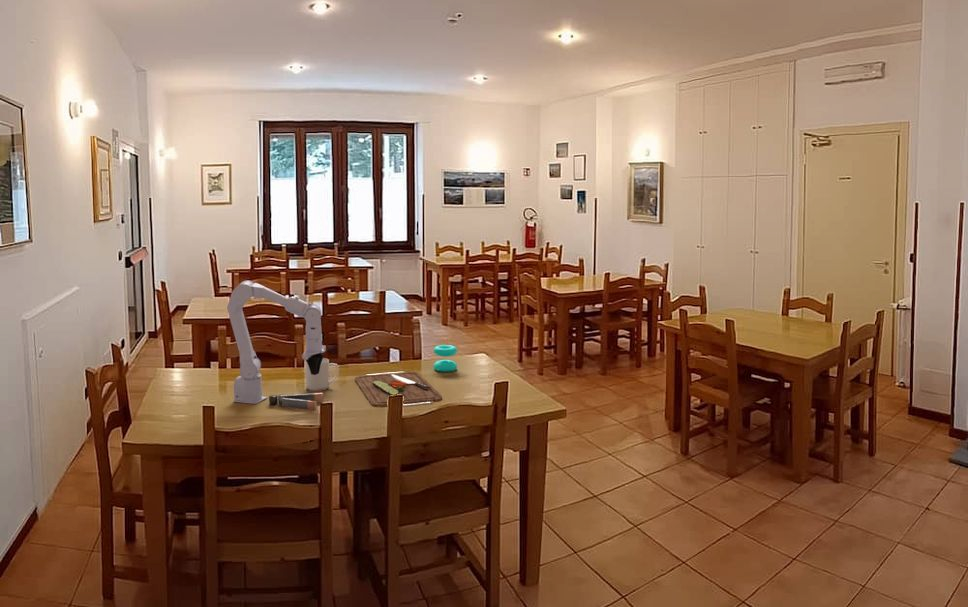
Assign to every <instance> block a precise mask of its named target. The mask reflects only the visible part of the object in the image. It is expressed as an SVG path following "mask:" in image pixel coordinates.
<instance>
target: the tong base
mask: <svg viewBox="0 0 968 607" xmlns="http://www.w3.org/2000/svg"><path fill="white" fill-rule="evenodd" d="M268 404H269V406H271V407H272V406H277V405H279V404H278V395H277V394H276V395H275V394H273V395H272V394H271V395H268ZM281 406H282V407H283V408H291V409H299V410H300V409H301V410H310V411H316V410H317V402H316V401H310V400H300V399H290V398H283V399H282V405H281Z"/></svg>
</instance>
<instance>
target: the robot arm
mask: <svg viewBox="0 0 968 607" xmlns="http://www.w3.org/2000/svg"><path fill="white" fill-rule="evenodd" d="M252 297H253V300H257V299H265V300H268V301H269V302H273V303H275V304H277V305H281V306H283V307H284V309H285V311H286V312H288V313H291V314H293V315H295V316H297V317H299V318H304V320H305V346H306V348H305V350H304V352H303V353H302V354H301V359H302V360H304V361H306V362H307V363H308V366H309V369H310V372H311V375H317V374H319V370H320V366H321V362H322V360H323V358H325V352H326V351H327V346H326V345H323V337H322V336H323V335H322V328H323V327H322V310H321V308H320V307H319V306H318V305H317V304H315V303H313V304H312V303H311V302H309V301H308V302H307V301H304V300H302V299H300V297H299V296H297V295H295V296H290V297H287V296H284V295H282V294H280V293H278V292H276V291H275V290H273V289H271V288H268V287H266V286H264V285H262V284H260V283H257V282H253V281H252V280H243V281H241V282H240V283H239V284H237V285H236V287H235V288H234V289H233V290H232V291H231V294H230V298H229V300H228V303H227V306H226V310H227V313H228V317H229V320H230V325H231V328H232V331H233V335H234V339H235V342H236V345H237V348H238V352H239V364H240V366H239V374H240V375H238V376H237V377H236V378H234V381H233V393H234V394H233V395H234V396H233V397H234V398H233V401H232V402H233V403H242V404H250V405H252V404H253V405H257V404H259V403H260V402H263V401H264V400H267V399H268V396H263V388H262V387H263V386H262V385H263V383H262V374H261V373H260V370H261V368H262V362H261V360H260V359H259V358H258V357H257V353H256V351H255V350H254V348H253V343H252V340H251V336H250V333H249V330H248V326H247V321H246V318H245V314H244V311H243V308H244V306H245V305H246V303H247V302H248V301H249V300H251V299H252ZM306 362H305V363H306Z"/></svg>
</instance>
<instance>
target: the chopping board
mask: <svg viewBox="0 0 968 607" xmlns="http://www.w3.org/2000/svg"><path fill="white" fill-rule="evenodd" d="M354 381H355V383H356V384H357V386H358V387H359V389H360V390H361V392H362V393H363V395H364V396H365V397H367V398H366V399H367V400H369V401H368V402H369V404H370V403H371V404H370V405H371V406H372V405H373V407H377V406H383V407H388V406H387V399H388V396H390V395H397V394H402V395H403V396H404V401H403V403H404V404H403V407H411V406H413V407H414V406H422V405H431V404H433V402H439V401H442V400H443V395H441V394H440V393H439V392H438V391H437V390H436V388H434V386H432V385H431V384H430V383H429V382H428V381H427V380H426V379H425V378H424V377H423V376H422V374H420V373H419V372H417V371H396V372H394V371H393V372H381V373H370V374H365V375H358V376H356V377H354Z"/></svg>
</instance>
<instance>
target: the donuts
mask: <svg viewBox="0 0 968 607" xmlns="http://www.w3.org/2000/svg"><path fill="white" fill-rule="evenodd" d="M457 352H458V348H457V347H456V346H454V345H451V344H440V345H436V346H435V347H434V349H433V353H434V354H435V355H436V356H439V357H443V358H444V357H446V358H447V357H452V356H454V355H456V354H457ZM457 368H458V365H457V363H456V362H455V361H454V360H450V359H442V360H440V359H439V360H437V361H436V362H434V363H433V369H434V370H435V371H437V372H443V373H447V372H448V373H449V372H453V371H455V370H457Z"/></svg>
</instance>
